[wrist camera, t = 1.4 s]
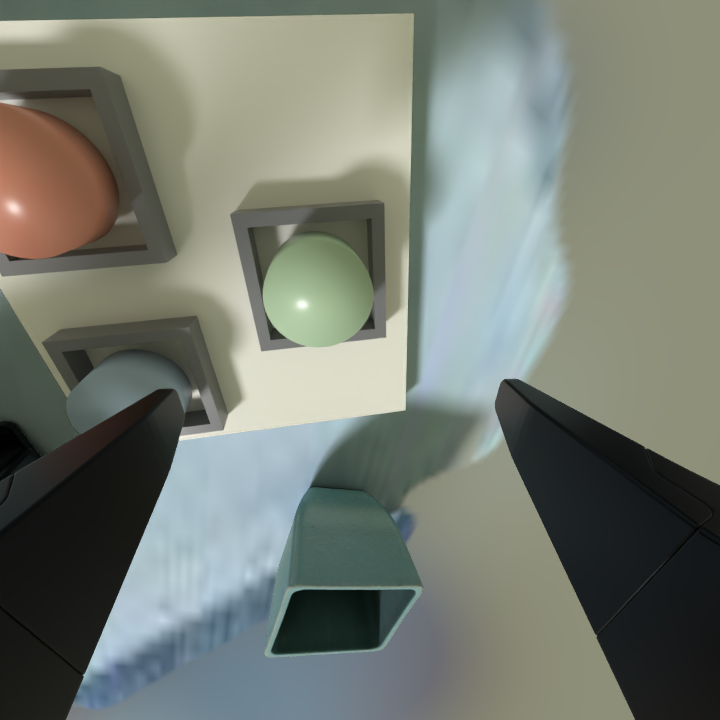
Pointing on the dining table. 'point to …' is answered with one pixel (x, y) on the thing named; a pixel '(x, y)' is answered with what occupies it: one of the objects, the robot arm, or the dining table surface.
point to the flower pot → (340, 578)
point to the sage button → (317, 290)
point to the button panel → (225, 202)
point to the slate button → (123, 386)
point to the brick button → (51, 186)
